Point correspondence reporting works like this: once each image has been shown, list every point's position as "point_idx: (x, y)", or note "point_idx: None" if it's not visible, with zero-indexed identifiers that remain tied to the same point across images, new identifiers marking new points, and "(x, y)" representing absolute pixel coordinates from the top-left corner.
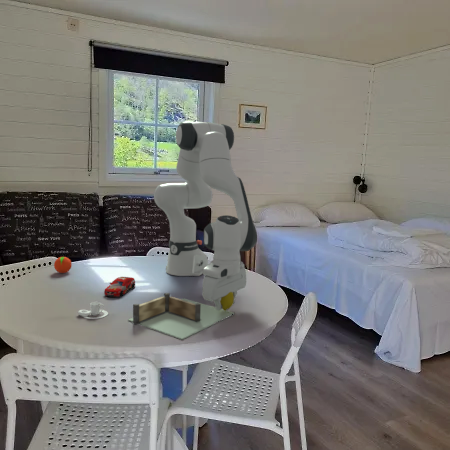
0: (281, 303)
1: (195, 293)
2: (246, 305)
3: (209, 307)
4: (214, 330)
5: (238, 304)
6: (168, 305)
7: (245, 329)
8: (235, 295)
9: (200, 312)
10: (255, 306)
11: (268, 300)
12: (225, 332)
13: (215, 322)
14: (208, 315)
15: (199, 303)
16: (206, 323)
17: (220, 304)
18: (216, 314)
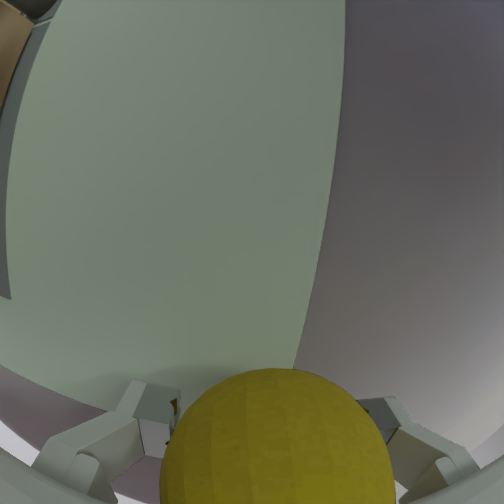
0: (470, 449)
1: (470, 9)
2: (446, 394)
3: (280, 208)
4: (14, 396)
5: (455, 354)
6: (11, 3)
7: (123, 489)
8: (408, 480)
9: (99, 205)
10: (436, 427)
11: (500, 406)
12: (40, 436)
13: (53, 389)
14: (88, 309)
15: (329, 60)
16: (8, 349)
17: (129, 458)
18: (150, 358)
